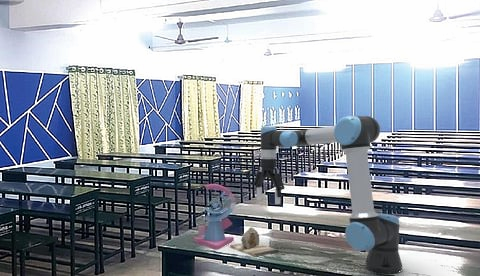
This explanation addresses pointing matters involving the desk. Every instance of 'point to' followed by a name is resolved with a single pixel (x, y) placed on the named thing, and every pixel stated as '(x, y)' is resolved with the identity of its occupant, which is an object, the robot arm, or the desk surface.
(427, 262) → the desk surface
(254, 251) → the board
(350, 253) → the desk surface
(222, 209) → the trophy
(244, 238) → the rock
